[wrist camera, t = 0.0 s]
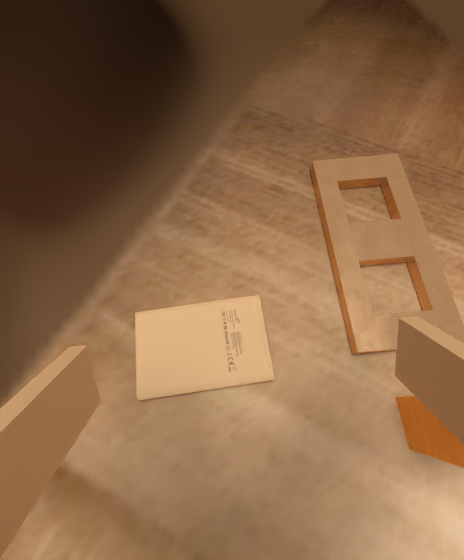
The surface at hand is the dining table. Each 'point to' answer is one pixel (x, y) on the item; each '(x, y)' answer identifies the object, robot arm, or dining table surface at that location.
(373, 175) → the rail plate
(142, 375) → the external hard drive
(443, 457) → the brass peg
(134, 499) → the dining table surface
